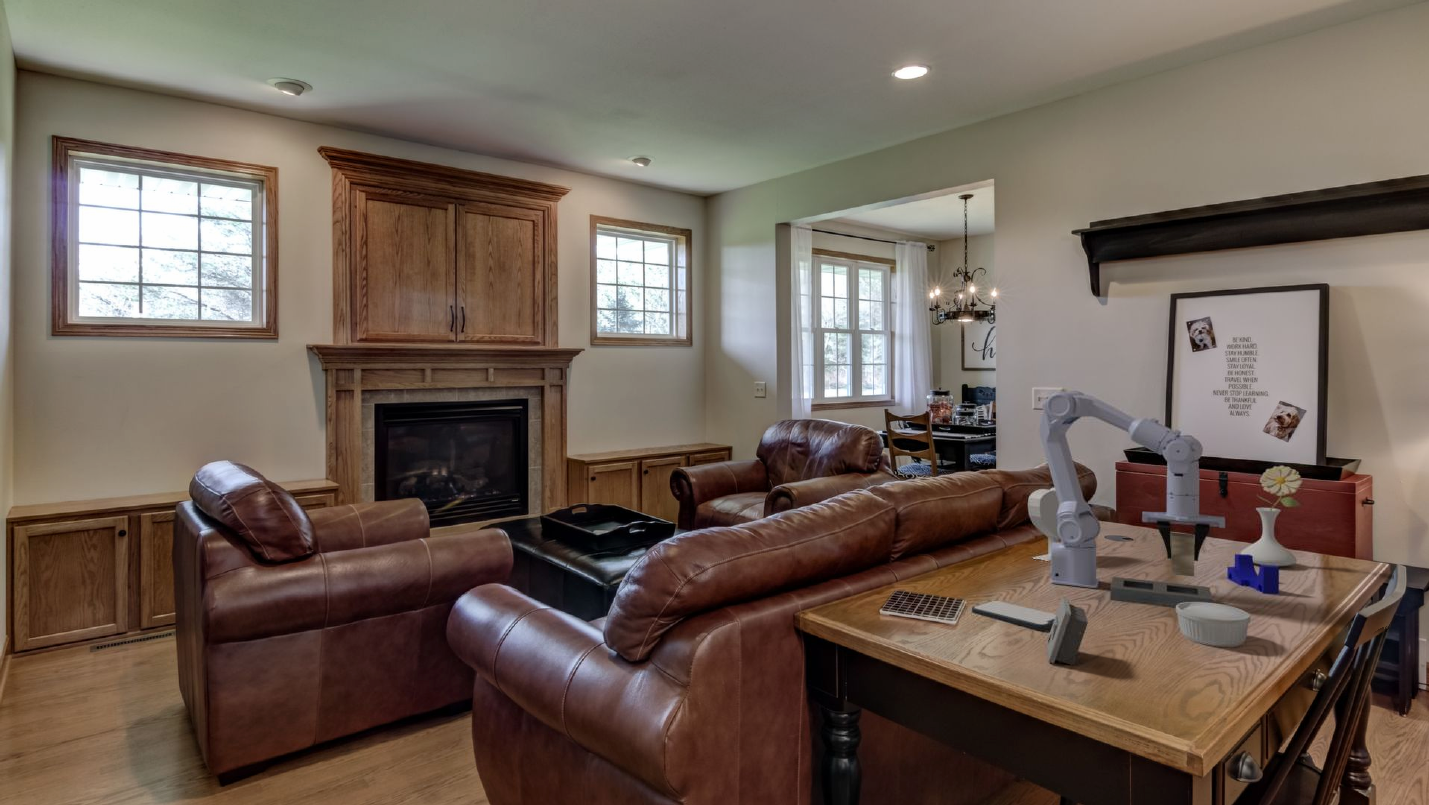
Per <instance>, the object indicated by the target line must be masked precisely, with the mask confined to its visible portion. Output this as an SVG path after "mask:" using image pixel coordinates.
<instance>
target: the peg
mask: <svg viewBox="0 0 1429 805" xmlns="http://www.w3.org/2000/svg"><path fill="white" fill-rule="evenodd" d="M1170 543H1171V559H1170V573H1171V575H1175V576H1176V575H1177V576H1183V577H1193V578H1194V577H1195V561H1194V544H1195V533H1182V532H1171V539H1170Z"/></svg>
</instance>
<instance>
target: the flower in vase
mask: <svg viewBox="0 0 1429 805" xmlns="http://www.w3.org/2000/svg"><path fill="white" fill-rule="evenodd" d="M1301 477H1302V476H1301V475H1300V473H1299V471H1297V470H1296V469H1293V468H1291V467H1289V466H1284V465H1279V466H1276V465H1275V466H1273V467H1272V468H1267V469H1266V470H1265V472H1263V473H1262V476H1260V480H1259V482H1260V484H1261V487H1263V491H1266V492H1268V493H1270V494H1271V495H1275V496H1278V497H1279V498H1278V499H1277V501H1276V502H1274V503H1272V502H1271V501H1270V500H1268V499H1266V498H1263V497H1261V496H1260V495H1258V494H1256V493H1255V494H1256V496H1257V497H1258V498H1259V499H1261V500H1263V501H1265V502H1266V503H1269V504H1272V506H1271V507H1256V508H1255V510H1256V511H1257V512H1258V513H1259V515H1260V518H1261V523H1262V534H1261V537H1260V539H1258V540H1257V541H1256V542H1254V543H1252V544H1251V545H1248V546H1247V547H1245V548H1244V549H1243V550H1241V552H1240V554H1249V555H1251V556H1253V564H1257V565H1259V566H1260V565H1272V566H1277V567H1288V566H1293V565H1295V564H1296V563H1297V561H1298V560H1297V557H1296V556H1295V555H1294V554H1293V553H1292V552H1291V551H1289V549H1287V548H1286V547H1284V546H1283V545H1282V544H1281V543H1279V542H1278V541H1277V539H1276V537H1275V522H1276V518H1277V517H1278V515H1279V513H1280V512H1282V510H1281V508H1280V509H1279V508H1275V506H1276V505H1278V503H1279V502H1280V503H1282V505H1283V506H1284V507H1288V508H1291V507H1301V506H1302V505H1301V504H1300V503H1299V501H1298V500H1296V499H1295V498H1294V497H1292V496H1287V497H1284V496H1286V495H1292V494H1294V493H1296V492H1297V491H1298V489H1299V488H1300V487H1301V485H1302V483H1303V479H1302V478H1301ZM1282 497H1283V498H1282Z"/></svg>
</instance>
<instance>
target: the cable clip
mask: <svg viewBox="0 0 1429 805" xmlns="http://www.w3.org/2000/svg"><path fill="white" fill-rule="evenodd" d="M1227 580H1229V581H1231V582H1233V583H1234V584H1237V585H1238V586H1240V585H1241V587H1249V586H1250V588H1251V589H1253V588H1254V589H1253V590H1255V589H1256V590H1255V591H1257V592H1259V591H1260V592H1259V593H1261V592H1262V593H1261V594H1265V595H1267V594H1268V595H1279V594H1280V585H1279V584H1280V566H1272V565H1260V564H1259V571H1258V573H1257V571H1256V569H1255V566H1254V563H1253V556H1251V555H1249V554H1241V553H1235V554H1234V566H1227ZM1244 585H1245V586H1244Z"/></svg>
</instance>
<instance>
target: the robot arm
mask: <svg viewBox="0 0 1429 805" xmlns="http://www.w3.org/2000/svg"><path fill="white" fill-rule="evenodd" d="M1041 408H1042V415H1041V419H1040V423H1039V427H1038V428H1039V429H1038V433H1039V436H1040V441H1041V444H1042V447H1043V450H1044V454H1045V457H1046V461H1047V465H1048V468H1049V472H1050V475H1051V476H1050V477H1051V478H1052V482H1053V486H1054V487H1055V490H1056V494H1057V497H1058V501H1059V508H1058V512H1057V518H1058V526H1057V533H1058V536H1059V538H1060V539H1059V540H1061V541H1060V542H1059V541H1058V542H1053V543H1052V549H1051V561H1050V583H1051V584H1055V585H1057V584H1058V585H1066V586H1072V587H1073V586H1074V587H1083V588H1092V589H1097V588H1098V586H1099V583H1100V578H1099V577H1097V542H1096V538H1097V537H1098V536H1099V534H1100V532H1101V523H1100V521H1099V519H1098V518H1097V517H1096V516H1095V514H1094V513H1093V511H1092V508H1091V506H1090V505H1089V504H1088V502H1087V501H1086V500H1085V499H1084V496H1083V495H1084V494H1083V491H1082V488H1081V485H1080V481H1079V478H1078V474H1077V470H1076V467H1075V464H1074V461H1073V457H1072V453H1071V450H1070V446H1069V443H1068V439H1067V435H1066V433H1067V432H1068V431H1069V430H1070V428H1071V427H1072V425H1073V424H1074V423H1076V422H1077V421H1078V420H1079V419H1080V418H1082V417H1084V418H1085V417H1087V418H1088V417H1093V418H1096V419H1098V420H1100V421H1102V422H1104V423H1107V424H1109V425H1112V426H1113V427H1114V428H1115V427H1116V428H1118V429H1120V430H1122V431H1125V432H1127V433H1128V435H1129V437H1130V440H1131V441H1132V442H1134V443H1136V444H1138V445H1140V446H1142V447H1144V448H1147V449H1148V450H1150V451H1152V452H1154V453H1156V454H1158V455H1159V456H1161V455H1162V456H1163V458H1164V460H1165V461H1166V462H1167V464H1166V466H1167V467H1166V468H1167V471H1166V511H1165V512H1164V511H1142V515H1141V516H1142V519H1141V520H1142V523H1156V527H1157V530H1158V532H1159V534H1160V536H1161V538H1162V540H1163V541H1162V542H1163V543H1164V546H1165V547H1164V548H1165V549H1166V554H1167V556H1166V558H1167V559H1170V560H1171V533H1172V532H1171V524H1172V525H1173V524H1174V525H1187V526H1188V525H1190V526H1193V527H1194V529H1193V530H1194V562H1198V561H1199V556H1200V552H1201V548H1202V546H1203V545H1204V542H1205V540H1206V538H1207V536H1208V534H1209V533H1210V531H1211V530H1210V529H1211V528H1210V527H1216V528H1217V527H1218V528H1220V529H1225V528H1226V518H1225V516H1216V515H1214V516H1213V515H1205V514H1200V472H1199V470H1200V468H1199V467H1200V465H1199V462H1200V461H1199V459H1200V458H1201V457H1202V455H1203V452H1204V451H1203V445H1202V443H1201V442H1200V441H1199V440H1198V439H1197V438H1195V437H1194V436H1193V435H1190V434H1183V435H1181V433H1182V431H1181V430H1179V429H1174V430H1173V429H1171V428H1170V427H1167V426H1165V425H1163V424H1160V423H1159V419H1157V418H1155V417H1151V418H1148V417H1142V418H1139V419H1136V418H1134V417H1133V416H1131V415H1129V414H1127V413H1125V412H1123V411H1121V410H1119V409H1118V408H1116V407H1114V406H1112V405H1110V404H1108V403H1107V402H1104V401H1102V400H1100V399H1099V398H1096V397H1094V396H1093V395H1088V394H1085V393H1083V392H1082V391H1079V390H1072V391H1056V392H1053V393H1051V394H1049V396H1048V397H1047V398H1046V400H1045V401H1044V402H1043V404H1042V405H1041ZM1054 487H1053V488H1054Z"/></svg>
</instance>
